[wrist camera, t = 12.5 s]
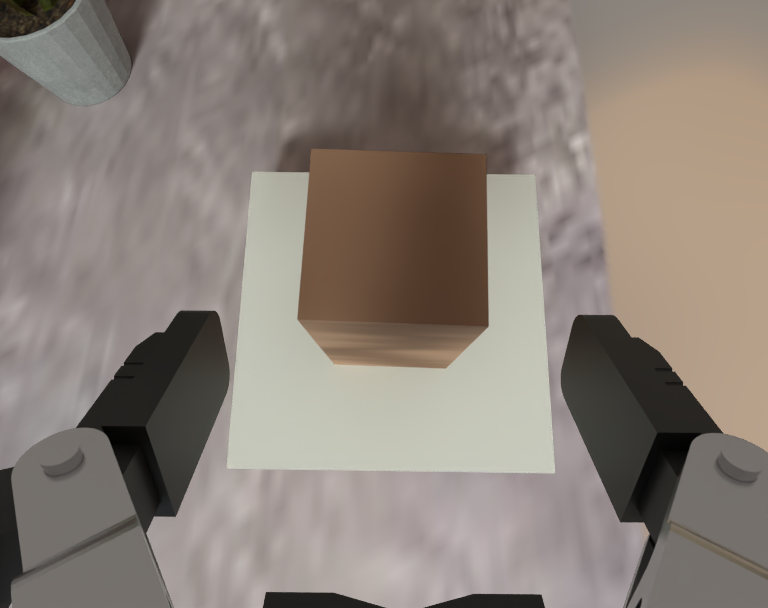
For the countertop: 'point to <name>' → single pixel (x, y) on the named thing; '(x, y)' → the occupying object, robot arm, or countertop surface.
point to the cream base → (384, 383)
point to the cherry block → (395, 256)
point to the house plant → (66, 47)
